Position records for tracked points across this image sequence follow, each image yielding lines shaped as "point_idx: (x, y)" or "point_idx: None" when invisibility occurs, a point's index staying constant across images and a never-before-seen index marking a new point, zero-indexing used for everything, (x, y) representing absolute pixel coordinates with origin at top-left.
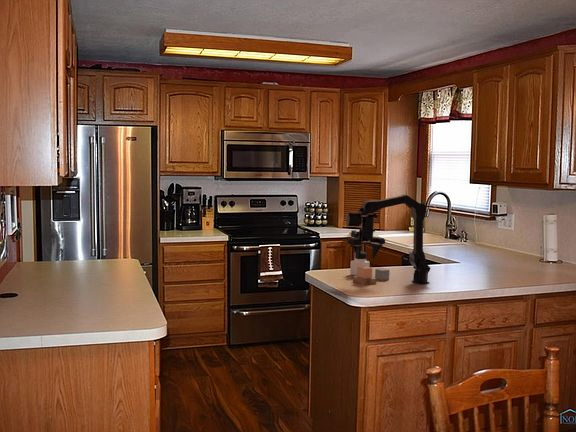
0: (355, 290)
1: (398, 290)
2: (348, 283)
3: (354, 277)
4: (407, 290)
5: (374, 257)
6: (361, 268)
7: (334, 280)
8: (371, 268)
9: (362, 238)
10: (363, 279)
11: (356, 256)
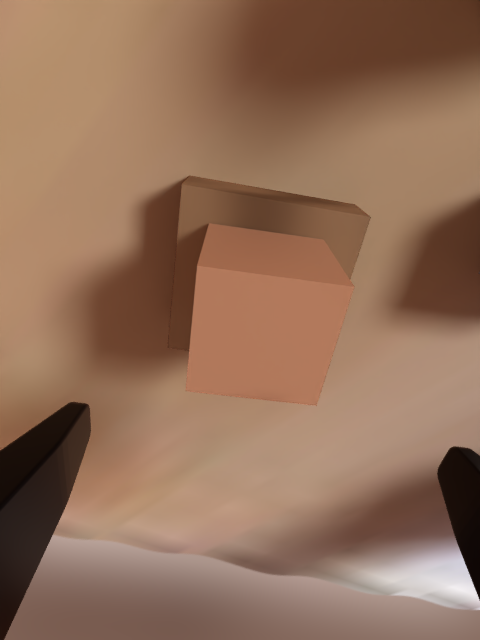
0: (7, 409)
1: (277, 509)
2: (87, 219)
3: (181, 206)
4: (323, 526)
5: (455, 493)
6: (190, 340)
7: (9, 2)
8: (301, 401)
9: None
10: (182, 338)
11: (31, 431)
